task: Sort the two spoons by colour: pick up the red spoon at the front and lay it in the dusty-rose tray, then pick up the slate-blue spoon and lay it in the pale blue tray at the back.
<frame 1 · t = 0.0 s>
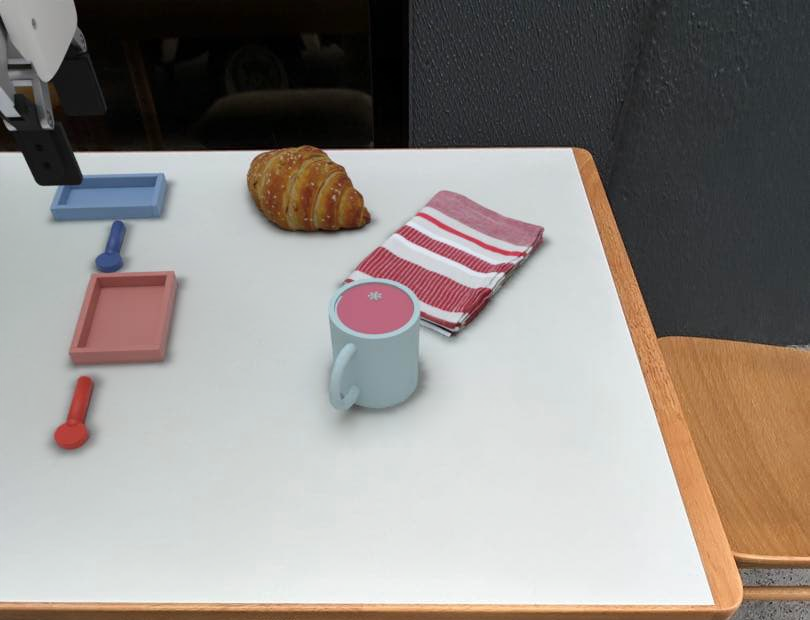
hand: (74, 146, 50), 27 cm above the table, tool pointing down, fingers open, 9 cm apart
dish towel: (445, 267, 86), on the table
mug: (367, 394, 74), on the table
rose tray: (129, 324, 80), on the table
blue spoon: (115, 253, 87), on the table
pastry: (300, 209, 93), on the table
red spoon: (80, 418, 72), on the table
blue tray: (113, 204, 93), on the table
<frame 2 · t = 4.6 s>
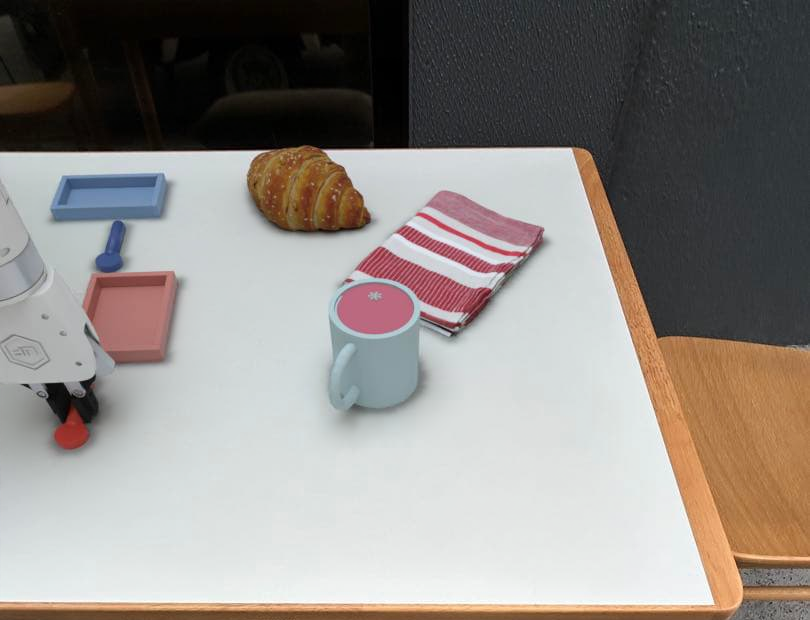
hand: (80, 414, 72), 0 cm above the table, tool pointing down, fingers closed on red spoon, 1 cm apart
red spoon: (80, 418, 72), on the table, touching gripper
everything else where it was.
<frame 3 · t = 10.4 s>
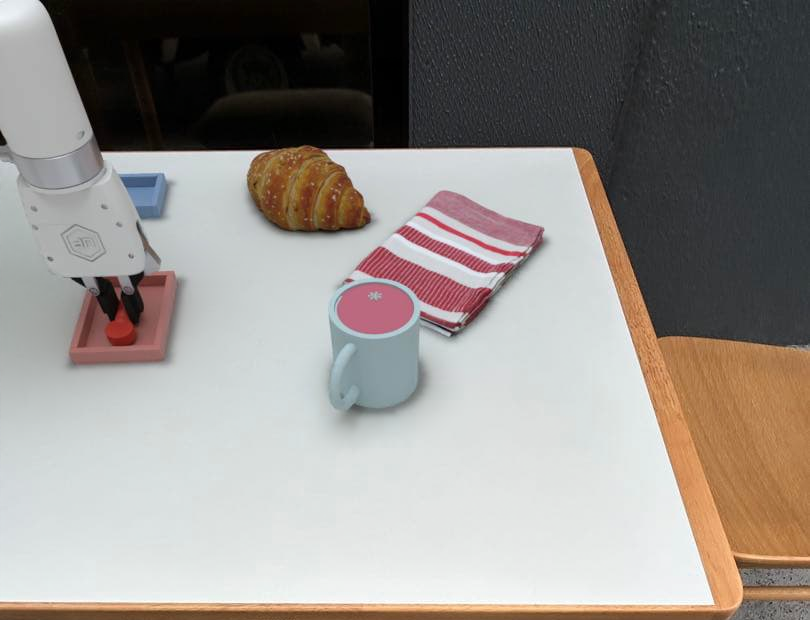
hand: (126, 315, 78), 1 cm above the table, tool pointing down, fingers closed on red spoon, 1 cm apart
red spoon: (126, 319, 78), point 1 cm above the table, touching gripper
everything else where it was.
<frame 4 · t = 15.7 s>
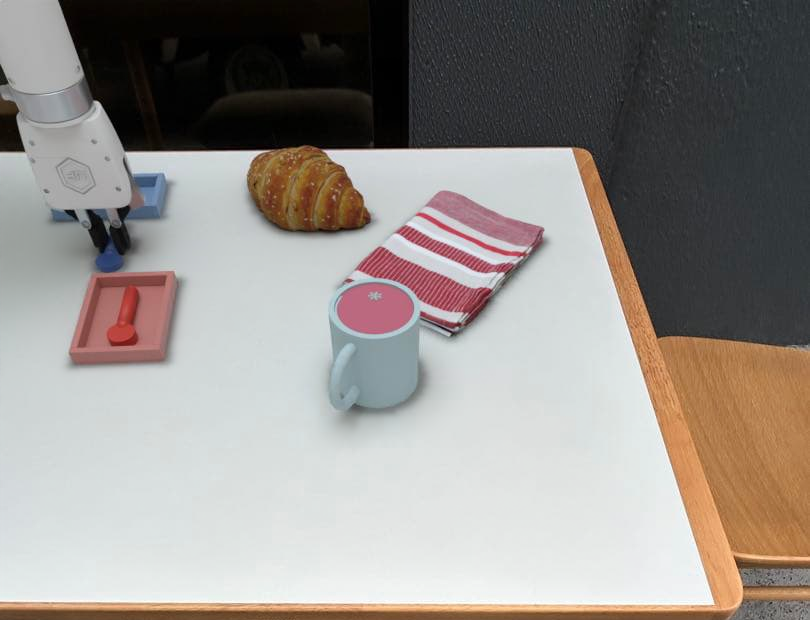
hand: (115, 249, 87), 0 cm above the table, tool pointing down, fingers closed on blue spoon, 1 cm apart
blue spoon: (115, 253, 87), on the table, touching gripper
red spoon: (128, 322, 79), point 1 cm above the table, touching rose tray
everything else where it was.
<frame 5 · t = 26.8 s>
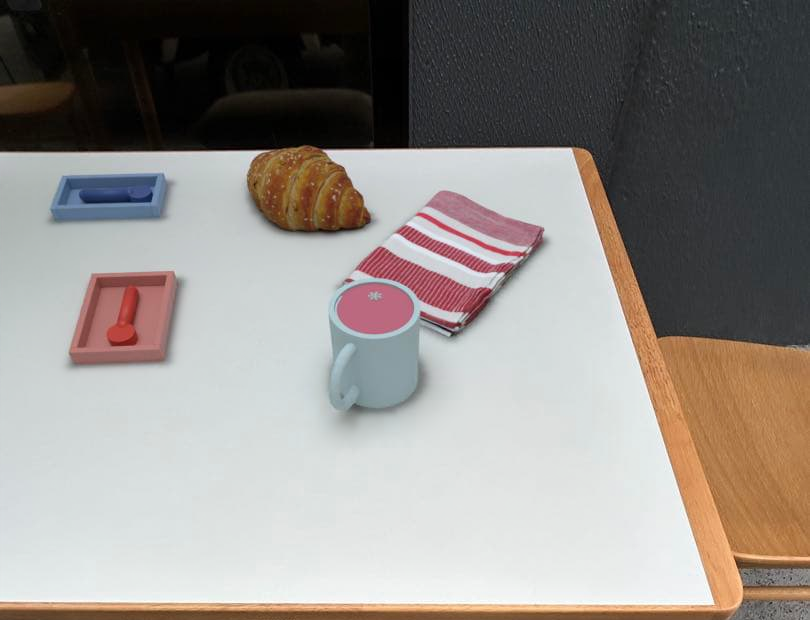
blue spoon: (120, 200, 92), point 1 cm above the table, touching blue tray
everything else where it was.
at the end: red spoon inside the target area in the rose tray (0.5 cm from its centre), point 0.6 cm above the rose tray's base; blue spoon inside the target area in the blue tray (1.1 cm from its centre), point 0.6 cm above the blue tray's base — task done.
